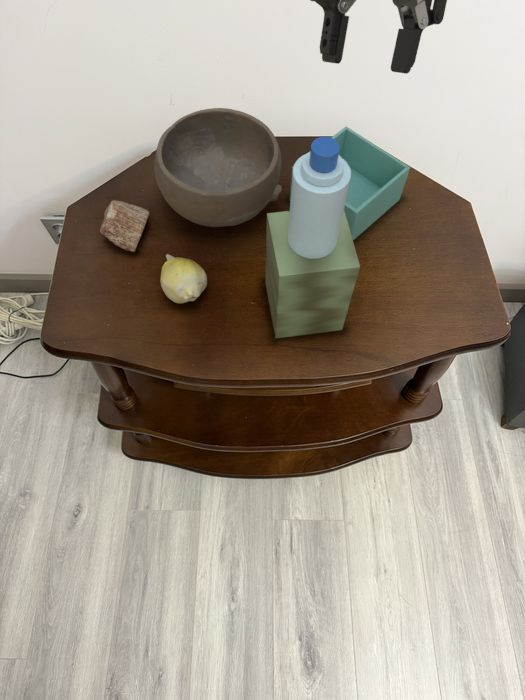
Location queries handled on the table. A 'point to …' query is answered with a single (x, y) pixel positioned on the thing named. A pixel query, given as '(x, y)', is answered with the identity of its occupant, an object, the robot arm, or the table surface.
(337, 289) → the stand
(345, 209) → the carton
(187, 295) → the fruit
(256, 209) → the bowl
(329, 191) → the bottle
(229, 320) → the table surface
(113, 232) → the stone
